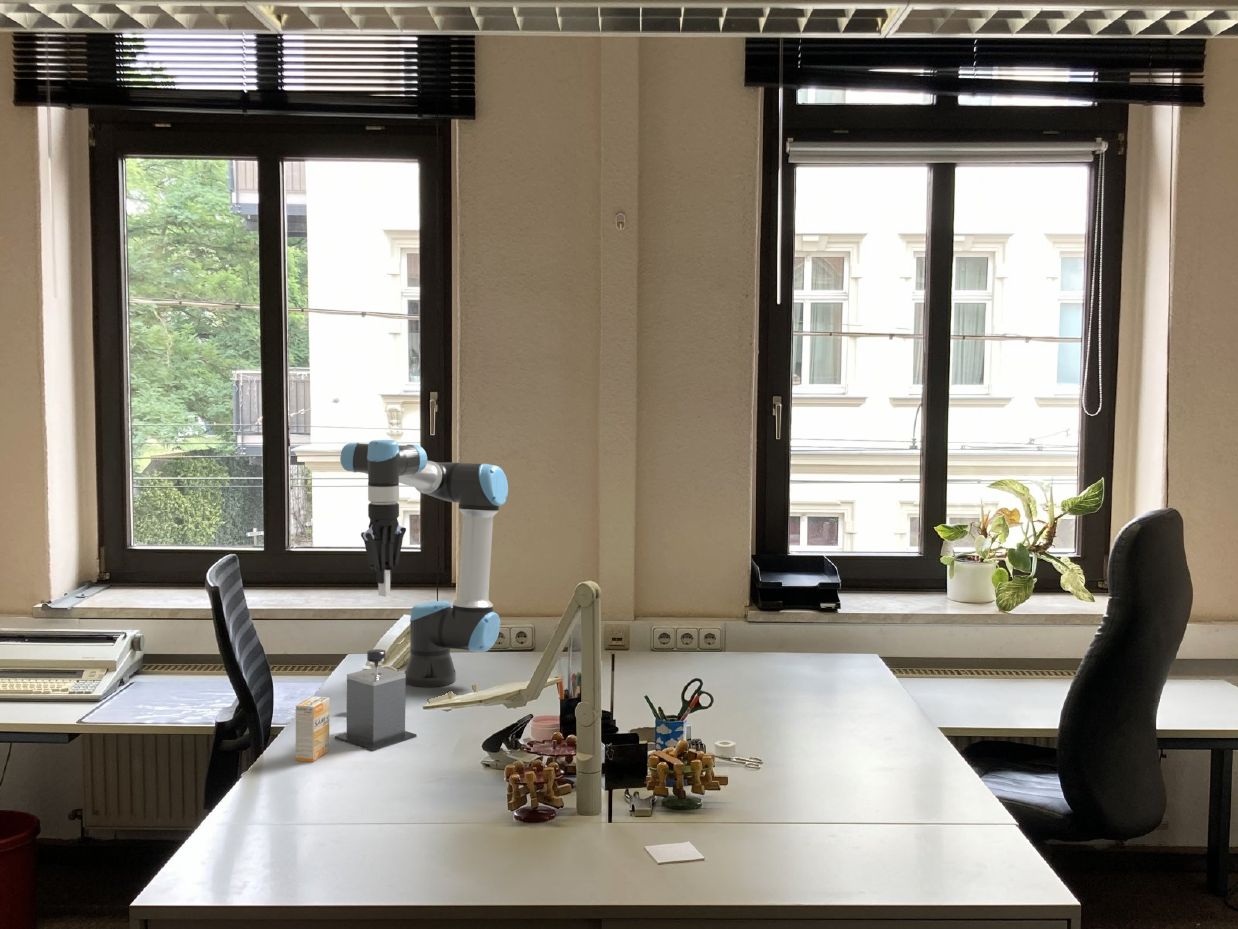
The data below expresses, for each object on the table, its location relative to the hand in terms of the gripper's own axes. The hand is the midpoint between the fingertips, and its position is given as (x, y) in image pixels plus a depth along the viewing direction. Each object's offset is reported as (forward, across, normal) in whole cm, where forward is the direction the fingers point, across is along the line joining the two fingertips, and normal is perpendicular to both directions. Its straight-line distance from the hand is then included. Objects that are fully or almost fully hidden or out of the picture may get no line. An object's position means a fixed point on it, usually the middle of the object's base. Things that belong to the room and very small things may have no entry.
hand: (384, 595), depth 269 cm
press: (+34, +6, +4) cm, 35 cm away
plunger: (+27, +6, +4) cm, 28 cm away
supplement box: (+34, +24, +3) cm, 42 cm away
